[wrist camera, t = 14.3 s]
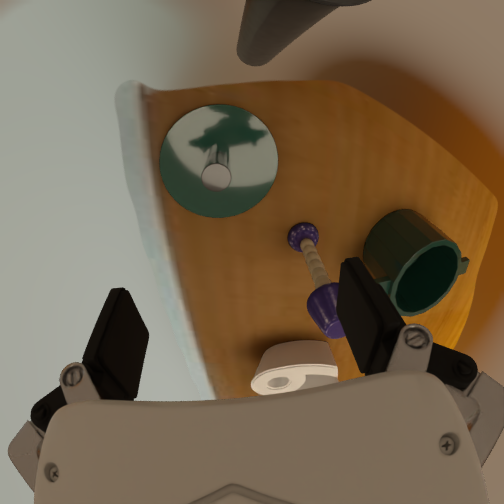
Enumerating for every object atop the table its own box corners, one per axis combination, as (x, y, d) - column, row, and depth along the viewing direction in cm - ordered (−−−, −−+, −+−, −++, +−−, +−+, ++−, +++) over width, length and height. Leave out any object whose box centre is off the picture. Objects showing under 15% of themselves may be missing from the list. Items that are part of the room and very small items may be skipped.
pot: (348, 215, 36) (380, 252, 28) (443, 204, 36) (481, 232, 28) (344, 287, 42) (365, 329, 34) (430, 268, 43) (458, 300, 34)
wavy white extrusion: (331, 401, 64) (341, 433, 55) (272, 414, 65) (277, 448, 56) (334, 317, 46) (353, 364, 37) (242, 338, 46) (246, 389, 38)
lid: (151, 118, 27) (131, 123, 21) (269, 97, 27) (281, 96, 21) (175, 222, 34) (165, 251, 28) (281, 205, 34) (293, 231, 28)
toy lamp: (307, 256, 39) (346, 348, 24) (277, 247, 37) (307, 342, 23) (323, 228, 36) (375, 313, 22) (293, 216, 35) (336, 304, 21)
